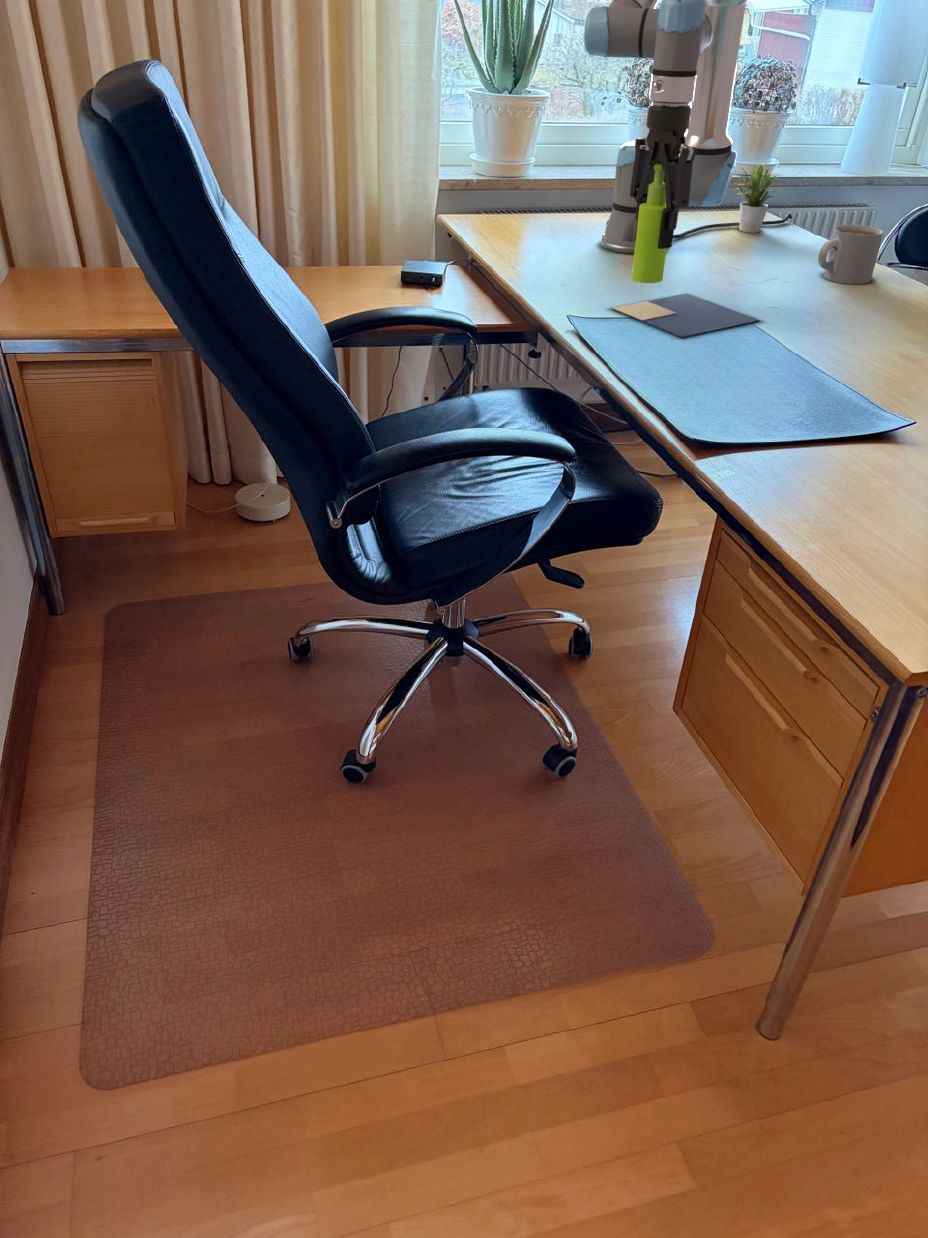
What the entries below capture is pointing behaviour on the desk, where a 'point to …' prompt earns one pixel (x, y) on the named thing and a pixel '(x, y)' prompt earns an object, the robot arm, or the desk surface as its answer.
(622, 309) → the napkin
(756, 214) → the house plant
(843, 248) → the coffee mug
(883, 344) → the desk surface
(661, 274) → the soap dispenser
